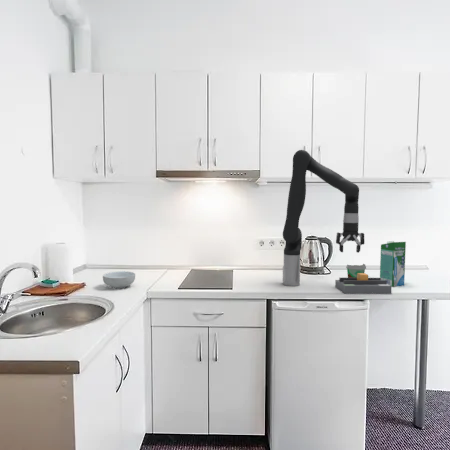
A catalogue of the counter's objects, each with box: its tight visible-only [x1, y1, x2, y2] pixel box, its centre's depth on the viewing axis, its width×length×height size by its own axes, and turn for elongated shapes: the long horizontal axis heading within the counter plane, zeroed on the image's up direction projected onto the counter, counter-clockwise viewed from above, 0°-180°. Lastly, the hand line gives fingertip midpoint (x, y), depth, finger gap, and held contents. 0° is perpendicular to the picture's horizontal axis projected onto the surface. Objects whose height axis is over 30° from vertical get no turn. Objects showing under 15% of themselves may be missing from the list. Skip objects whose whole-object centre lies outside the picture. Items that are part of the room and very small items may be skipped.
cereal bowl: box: [102, 270, 136, 290], centre depth 181 cm, size 17×17×7 cm
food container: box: [345, 263, 367, 278], centre depth 195 cm, size 12×6×10 cm, turn 105°
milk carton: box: [379, 240, 407, 287], centre depth 189 cm, size 9×9×25 cm
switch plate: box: [334, 277, 392, 295], centre depth 175 cm, size 24×14×6 cm, turn 90°
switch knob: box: [357, 272, 369, 280], centre depth 175 cm, size 4×4×4 cm
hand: (349, 252), depth 175 cm, fingers open, 8 cm apart
